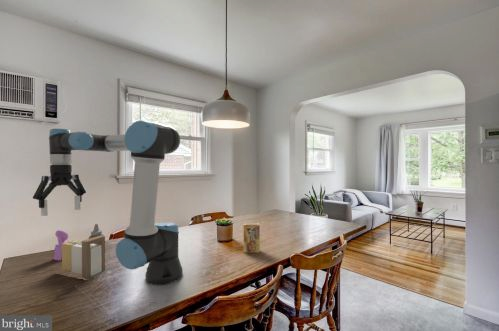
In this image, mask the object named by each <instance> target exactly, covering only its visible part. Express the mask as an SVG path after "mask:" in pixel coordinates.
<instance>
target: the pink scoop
mask: <svg viewBox="0 0 499 331" xmlns="http://www.w3.org/2000/svg"><path fill="white" fill-rule="evenodd" d="M54 234H55V237H57V243H55V246H54V256H53V257H52V259H54V261H59V260H60V261H61V260H62V243H65V242H69V241H70V240H68V238H69V234H68V233H67V232H66V231H64V230H61V229H58V230H56V231H55V233H54ZM61 262H62V261H61Z"/></svg>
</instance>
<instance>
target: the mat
mask: <svg viewBox="0 0 499 331" xmlns="http://www.w3.org/2000/svg"><path fill="white" fill-rule="evenodd" d="M111 270H112V268H108V267H105V270H104V271H102V272H100V273H98V274H96V275H93V276H91V277H89V278H85V279H87V280H88V281H91V280H92V279H94V278H96V277H98V276H100V275H102V274H105V273H107V272H109V271H111Z"/></svg>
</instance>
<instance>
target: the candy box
mask: <svg viewBox="0 0 499 331" xmlns="http://www.w3.org/2000/svg"><path fill="white" fill-rule="evenodd" d="M260 228H261V227H260V223H259V222H257V223H249V222H248V223H243V253H260V244H261V242H260V235H261V234H260V233H261V232H260V231H261V229H260Z"/></svg>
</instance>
